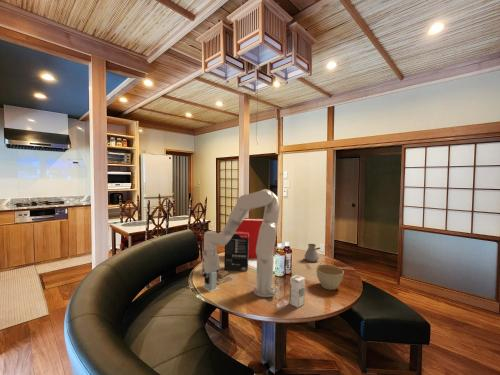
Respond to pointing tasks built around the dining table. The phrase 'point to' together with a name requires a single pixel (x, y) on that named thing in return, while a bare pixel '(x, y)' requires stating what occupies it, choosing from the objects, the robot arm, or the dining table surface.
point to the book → (251, 233)
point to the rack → (224, 280)
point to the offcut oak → (222, 279)
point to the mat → (209, 289)
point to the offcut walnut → (222, 274)
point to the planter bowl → (329, 276)
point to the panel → (212, 280)
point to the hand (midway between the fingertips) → (210, 281)
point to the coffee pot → (311, 253)
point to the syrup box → (297, 291)
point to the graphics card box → (237, 252)
